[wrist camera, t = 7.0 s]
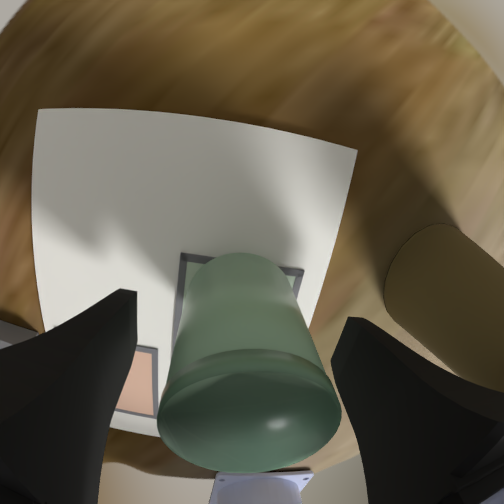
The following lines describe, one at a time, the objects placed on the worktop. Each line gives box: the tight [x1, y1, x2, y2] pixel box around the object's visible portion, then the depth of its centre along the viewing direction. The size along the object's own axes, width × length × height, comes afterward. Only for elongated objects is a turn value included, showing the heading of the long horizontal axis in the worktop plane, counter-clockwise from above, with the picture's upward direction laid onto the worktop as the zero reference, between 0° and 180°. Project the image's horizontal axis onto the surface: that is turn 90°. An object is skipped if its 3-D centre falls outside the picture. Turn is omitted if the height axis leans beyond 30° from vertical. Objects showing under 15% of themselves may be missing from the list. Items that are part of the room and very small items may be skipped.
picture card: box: [32, 108, 358, 437], centre depth 13 cm, size 18×13×1 cm
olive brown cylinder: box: [384, 223, 504, 393], centre depth 9 cm, size 6×6×11 cm
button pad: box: [0, 320, 39, 349], centre depth 13 cm, size 7×7×2 cm
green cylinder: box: [157, 253, 342, 473], centre depth 9 cm, size 4×4×7 cm
